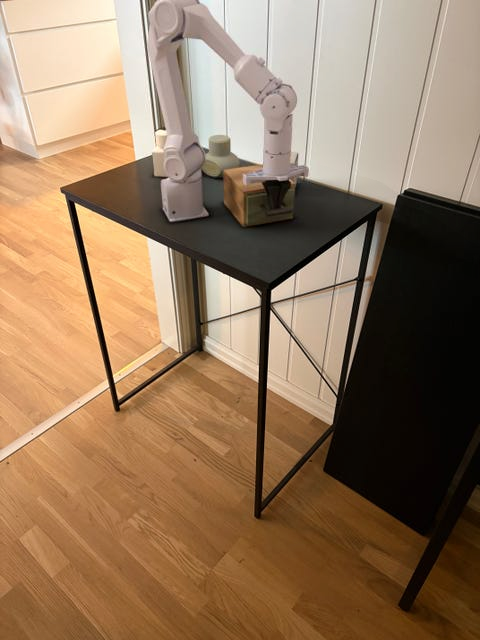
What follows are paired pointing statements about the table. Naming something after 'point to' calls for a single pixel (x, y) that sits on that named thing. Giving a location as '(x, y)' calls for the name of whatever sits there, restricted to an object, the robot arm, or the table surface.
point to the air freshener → (219, 156)
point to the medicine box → (294, 164)
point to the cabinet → (241, 191)
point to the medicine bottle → (159, 152)
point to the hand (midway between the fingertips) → (274, 211)
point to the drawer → (268, 208)
